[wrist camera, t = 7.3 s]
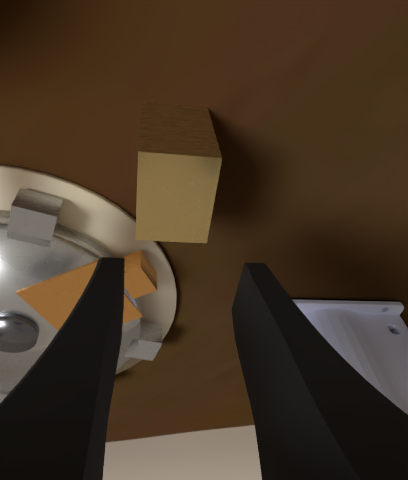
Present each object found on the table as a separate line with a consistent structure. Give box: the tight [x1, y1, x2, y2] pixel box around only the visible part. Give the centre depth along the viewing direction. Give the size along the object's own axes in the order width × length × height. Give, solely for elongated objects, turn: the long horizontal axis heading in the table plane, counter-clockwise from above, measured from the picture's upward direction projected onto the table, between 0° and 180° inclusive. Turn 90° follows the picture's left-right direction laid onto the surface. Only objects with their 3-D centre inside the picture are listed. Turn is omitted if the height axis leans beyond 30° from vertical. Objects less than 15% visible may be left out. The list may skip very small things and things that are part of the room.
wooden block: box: [135, 101, 222, 243], centre depth 17 cm, size 4×3×5 cm
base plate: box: [0, 164, 177, 374], centre depth 24 cm, size 20×20×1 cm
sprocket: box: [0, 188, 162, 403], centre depth 22 cm, size 18×18×6 cm
